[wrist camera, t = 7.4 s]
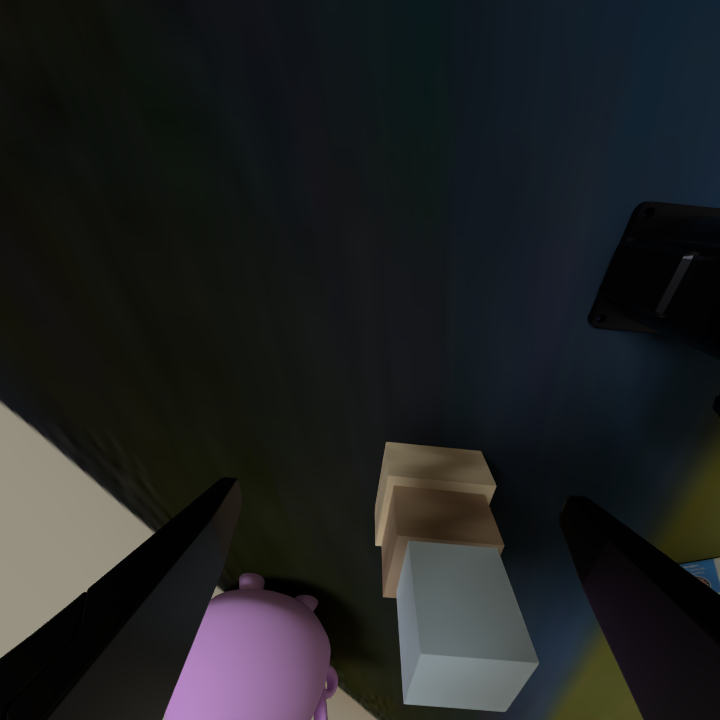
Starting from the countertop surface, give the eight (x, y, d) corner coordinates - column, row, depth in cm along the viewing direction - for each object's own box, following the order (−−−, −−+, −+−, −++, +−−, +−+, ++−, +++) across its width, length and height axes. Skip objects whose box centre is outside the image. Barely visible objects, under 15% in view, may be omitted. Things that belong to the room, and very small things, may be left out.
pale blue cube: (497, 548, 18) (539, 663, 13) (475, 598, 20) (505, 711, 16) (408, 540, 18) (420, 653, 13) (396, 592, 20) (403, 703, 16)
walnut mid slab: (484, 494, 21) (504, 545, 18) (462, 552, 24) (476, 605, 20) (393, 485, 21) (397, 535, 18) (381, 544, 24) (383, 596, 20)
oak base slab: (479, 448, 24) (496, 486, 21) (458, 513, 27) (469, 554, 24) (386, 439, 24) (388, 475, 21) (375, 505, 27) (375, 545, 24)
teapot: (143, 600, 34) (29, 798, 22) (190, 526, 28) (72, 739, 17) (308, 657, 38) (283, 848, 27) (377, 603, 33) (380, 813, 21)
